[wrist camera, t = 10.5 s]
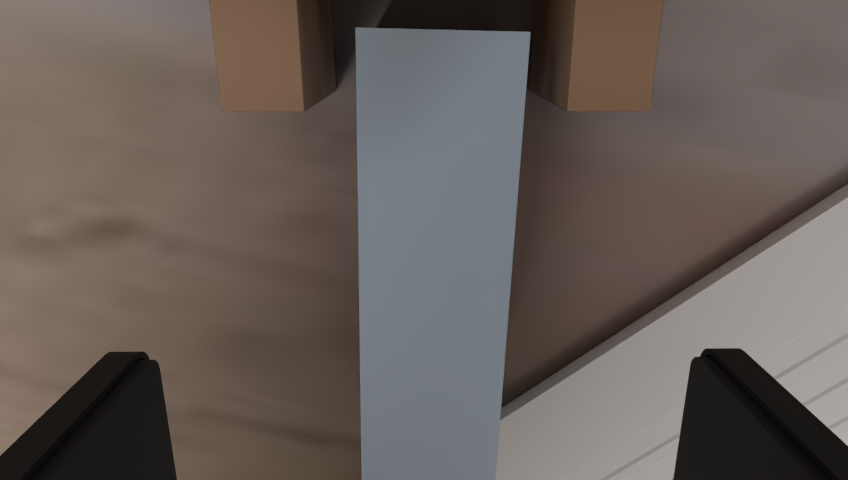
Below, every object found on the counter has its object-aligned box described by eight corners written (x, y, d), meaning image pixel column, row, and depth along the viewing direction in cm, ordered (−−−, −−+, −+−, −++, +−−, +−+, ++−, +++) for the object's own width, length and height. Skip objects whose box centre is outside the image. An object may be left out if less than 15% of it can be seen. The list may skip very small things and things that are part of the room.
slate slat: (499, 31, 19) (530, 31, 14) (476, 401, 24) (492, 515, 18) (375, 28, 19) (355, 27, 14) (377, 398, 24) (362, 513, 18)
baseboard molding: (1183, 282, 23) (1076, 17, 19) (1288, 316, 20) (1183, 14, 17) (515, 644, 29) (356, 488, 26) (525, 708, 26) (347, 541, 23)
